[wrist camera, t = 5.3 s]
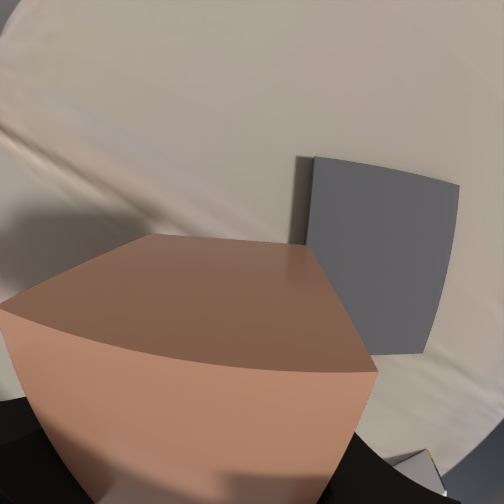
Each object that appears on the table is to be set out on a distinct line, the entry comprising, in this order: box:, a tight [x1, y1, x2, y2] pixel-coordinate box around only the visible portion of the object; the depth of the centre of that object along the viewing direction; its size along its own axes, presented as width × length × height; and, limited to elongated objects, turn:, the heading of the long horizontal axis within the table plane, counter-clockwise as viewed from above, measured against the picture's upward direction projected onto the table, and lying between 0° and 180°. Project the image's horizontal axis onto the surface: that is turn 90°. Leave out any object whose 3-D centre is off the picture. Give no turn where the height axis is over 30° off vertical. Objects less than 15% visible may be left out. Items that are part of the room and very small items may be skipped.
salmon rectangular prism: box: [0, 234, 378, 504], centre depth 7 cm, size 10×6×7 cm, turn 176°
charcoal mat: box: [305, 157, 460, 355], centre depth 16 cm, size 12×10×1 cm
